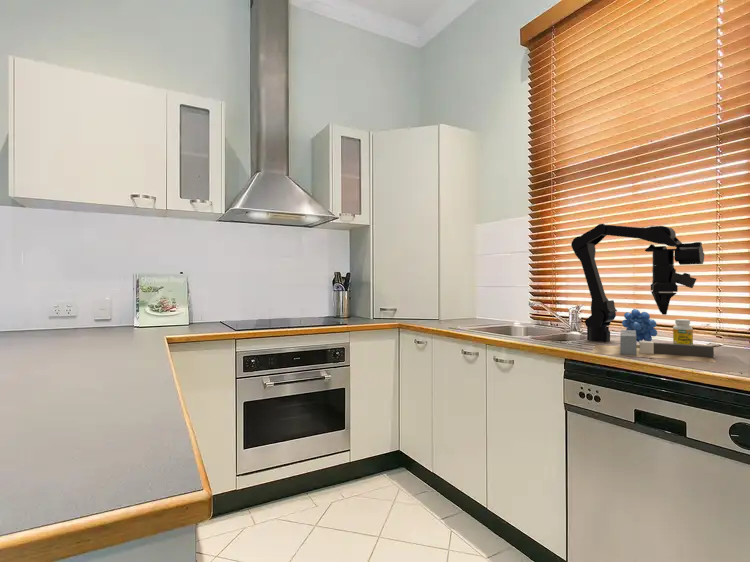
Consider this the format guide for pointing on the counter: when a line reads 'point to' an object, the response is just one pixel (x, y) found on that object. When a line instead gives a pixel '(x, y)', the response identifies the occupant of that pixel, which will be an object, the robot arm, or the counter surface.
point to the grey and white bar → (675, 349)
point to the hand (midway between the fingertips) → (663, 313)
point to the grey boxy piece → (628, 342)
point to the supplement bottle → (682, 332)
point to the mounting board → (616, 351)
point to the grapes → (640, 325)
